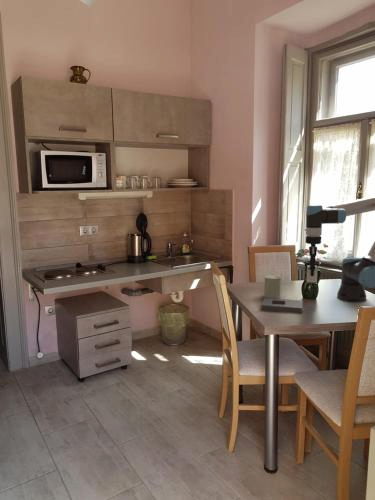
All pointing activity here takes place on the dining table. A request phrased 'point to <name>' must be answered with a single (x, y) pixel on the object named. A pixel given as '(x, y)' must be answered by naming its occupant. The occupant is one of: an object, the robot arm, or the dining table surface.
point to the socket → (282, 305)
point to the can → (272, 286)
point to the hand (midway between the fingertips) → (311, 280)
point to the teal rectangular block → (309, 271)
